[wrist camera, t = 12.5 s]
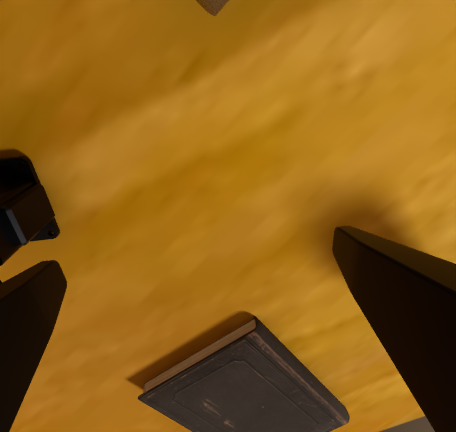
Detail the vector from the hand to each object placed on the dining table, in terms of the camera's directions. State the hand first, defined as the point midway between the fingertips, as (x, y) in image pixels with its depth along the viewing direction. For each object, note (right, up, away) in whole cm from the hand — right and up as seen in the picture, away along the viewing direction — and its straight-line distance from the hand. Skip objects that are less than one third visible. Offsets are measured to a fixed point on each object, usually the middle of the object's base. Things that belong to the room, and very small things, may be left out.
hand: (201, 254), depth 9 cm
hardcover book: (+4, -21, +27) cm, 34 cm away
